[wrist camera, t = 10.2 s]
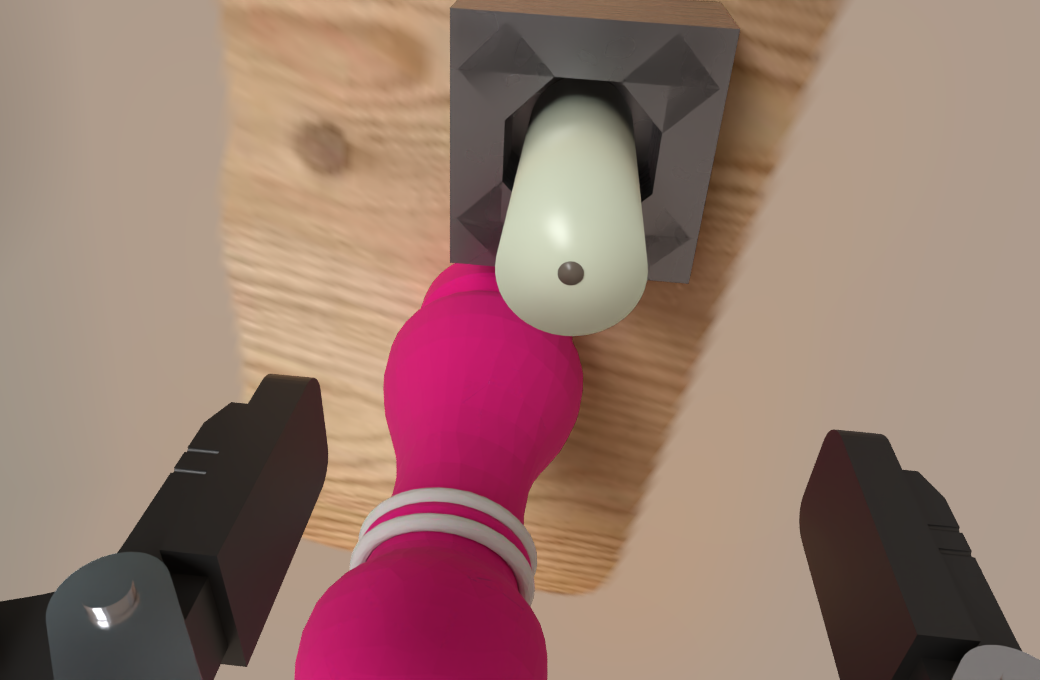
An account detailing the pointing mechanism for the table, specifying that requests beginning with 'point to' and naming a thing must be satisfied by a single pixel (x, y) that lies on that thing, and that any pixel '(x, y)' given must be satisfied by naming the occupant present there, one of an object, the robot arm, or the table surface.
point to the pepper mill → (453, 499)
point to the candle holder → (595, 56)
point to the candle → (575, 214)
